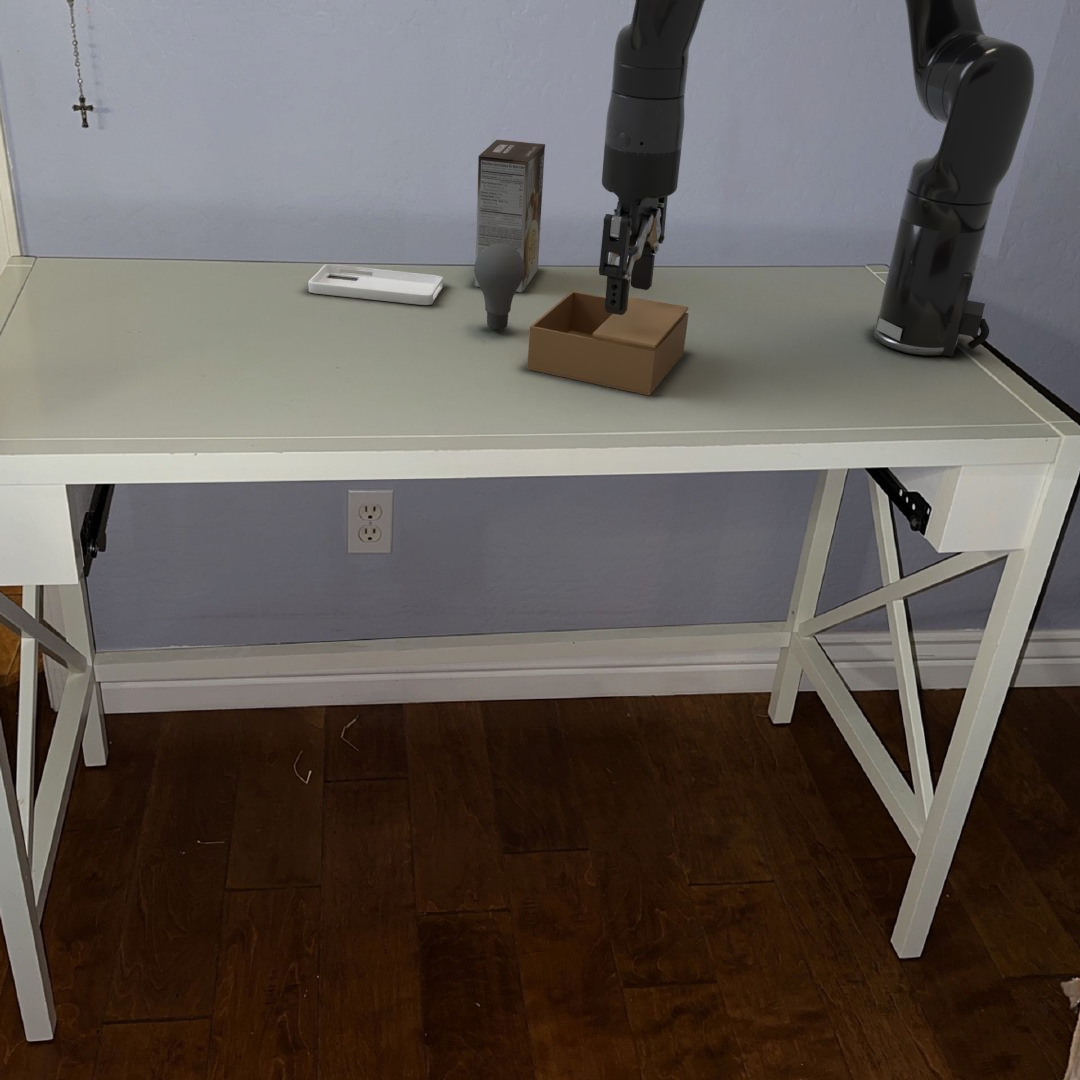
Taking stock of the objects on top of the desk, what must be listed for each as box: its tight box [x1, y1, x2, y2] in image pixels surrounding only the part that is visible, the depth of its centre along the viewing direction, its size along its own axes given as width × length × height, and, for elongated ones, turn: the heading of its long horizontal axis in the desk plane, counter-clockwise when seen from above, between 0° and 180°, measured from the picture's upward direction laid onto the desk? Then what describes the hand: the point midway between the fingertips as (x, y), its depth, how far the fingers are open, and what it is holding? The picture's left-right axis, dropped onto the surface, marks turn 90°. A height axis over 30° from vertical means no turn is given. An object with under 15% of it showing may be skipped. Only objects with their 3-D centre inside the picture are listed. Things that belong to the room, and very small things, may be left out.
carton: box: [526, 290, 689, 396], centre depth 125 cm, size 14×13×5 cm
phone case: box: [307, 263, 444, 306], centre depth 141 cm, size 7×1×15 cm
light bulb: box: [473, 243, 525, 333], centre depth 129 cm, size 6×6×10 cm
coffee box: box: [474, 139, 546, 293], centre depth 143 cm, size 9×6×16 cm
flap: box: [593, 296, 690, 348], centre depth 122 cm, size 7×12×1 cm, turn 158°
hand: (628, 300), depth 122 cm, fingers open, 8 cm apart
